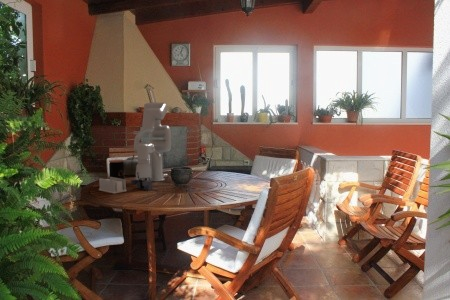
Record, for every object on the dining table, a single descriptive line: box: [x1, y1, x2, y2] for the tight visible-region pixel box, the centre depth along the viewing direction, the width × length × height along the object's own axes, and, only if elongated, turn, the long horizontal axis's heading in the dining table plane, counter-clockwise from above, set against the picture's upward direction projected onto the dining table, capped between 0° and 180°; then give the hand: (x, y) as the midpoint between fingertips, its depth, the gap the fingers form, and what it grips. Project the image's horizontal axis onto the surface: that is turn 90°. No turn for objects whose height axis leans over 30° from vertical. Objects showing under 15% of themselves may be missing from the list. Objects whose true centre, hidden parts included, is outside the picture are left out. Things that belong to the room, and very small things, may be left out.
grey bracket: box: [130, 178, 153, 191], centre depth 282 cm, size 7×14×6 cm, turn 48°
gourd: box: [123, 154, 138, 177], centre depth 345 cm, size 25×25×17 cm
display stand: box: [98, 176, 128, 194], centre depth 278 cm, size 10×18×8 cm, turn 48°
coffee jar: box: [108, 158, 126, 179], centre depth 299 cm, size 11×11×18 cm
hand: (144, 187), depth 284 cm, fingers closed on grey bracket, 2 cm apart
